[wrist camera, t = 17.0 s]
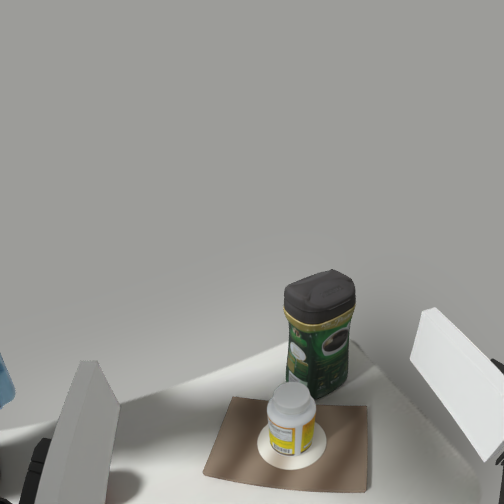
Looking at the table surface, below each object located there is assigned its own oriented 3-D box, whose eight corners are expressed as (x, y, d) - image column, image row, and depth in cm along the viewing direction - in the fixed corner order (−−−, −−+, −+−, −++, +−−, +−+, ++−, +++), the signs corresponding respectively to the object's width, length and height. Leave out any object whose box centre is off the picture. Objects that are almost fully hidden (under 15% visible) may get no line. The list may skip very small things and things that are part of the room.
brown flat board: (204, 475, 31) (202, 471, 31) (233, 400, 44) (232, 395, 43) (364, 492, 26) (366, 488, 26) (365, 409, 39) (367, 405, 38)
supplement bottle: (307, 422, 37) (310, 372, 33) (316, 454, 32) (323, 407, 28) (266, 428, 37) (262, 380, 33) (272, 461, 32) (269, 417, 28)
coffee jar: (323, 355, 51) (328, 259, 44) (354, 380, 45) (368, 278, 38) (277, 379, 47) (272, 279, 40) (306, 409, 41) (311, 305, 34)
